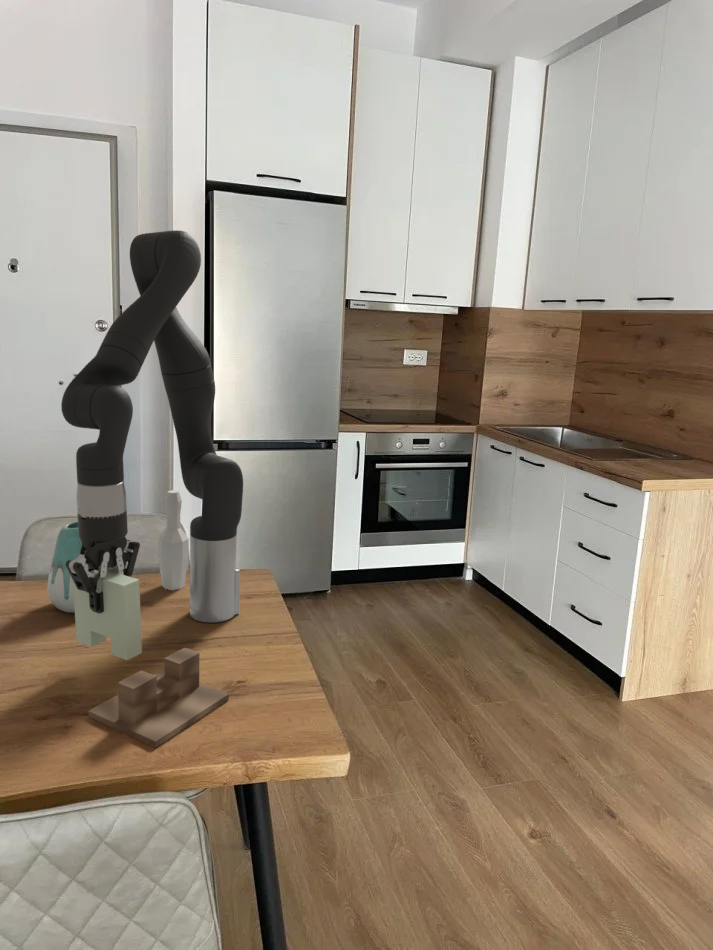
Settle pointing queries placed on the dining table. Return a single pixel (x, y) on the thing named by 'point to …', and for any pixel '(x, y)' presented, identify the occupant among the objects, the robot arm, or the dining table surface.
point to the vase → (64, 568)
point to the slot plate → (160, 700)
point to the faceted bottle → (173, 545)
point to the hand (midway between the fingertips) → (106, 607)
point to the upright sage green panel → (111, 616)
